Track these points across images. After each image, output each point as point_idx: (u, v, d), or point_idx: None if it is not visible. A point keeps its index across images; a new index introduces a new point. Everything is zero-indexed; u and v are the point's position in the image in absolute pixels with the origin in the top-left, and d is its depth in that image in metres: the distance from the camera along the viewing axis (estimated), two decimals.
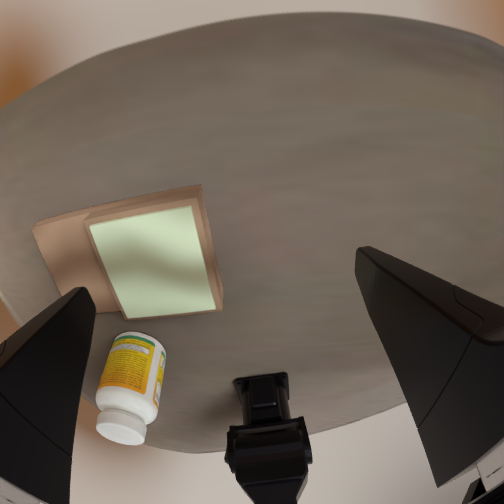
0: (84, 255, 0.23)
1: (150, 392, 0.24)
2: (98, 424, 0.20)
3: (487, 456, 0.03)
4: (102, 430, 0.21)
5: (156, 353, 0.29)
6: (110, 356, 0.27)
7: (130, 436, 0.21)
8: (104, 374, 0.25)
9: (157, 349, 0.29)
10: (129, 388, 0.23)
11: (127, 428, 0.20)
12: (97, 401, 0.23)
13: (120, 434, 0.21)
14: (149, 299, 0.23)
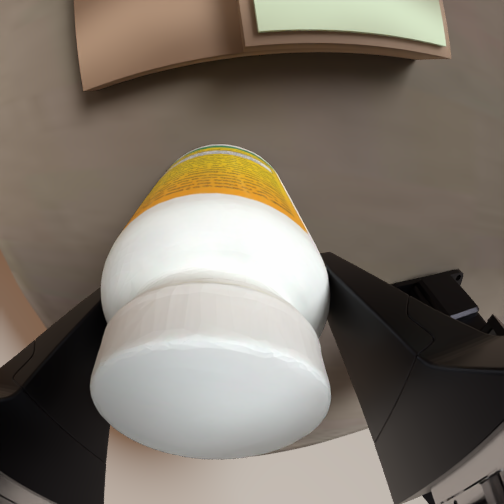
0: None
1: None
2: (104, 364, 0.04)
3: (440, 482, 0.03)
4: (120, 401, 0.05)
5: (282, 183, 0.12)
6: (163, 177, 0.10)
7: (265, 418, 0.05)
8: (145, 200, 0.08)
9: None
10: (260, 201, 0.07)
11: (290, 360, 0.04)
12: (107, 281, 0.06)
13: (214, 416, 0.05)
14: None
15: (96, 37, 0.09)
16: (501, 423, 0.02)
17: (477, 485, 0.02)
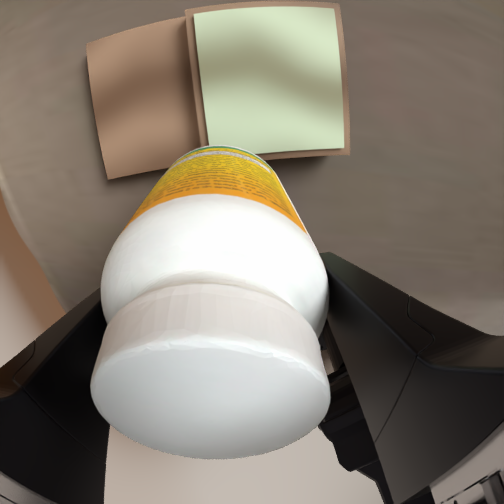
0: (159, 73, 0.15)
1: (312, 242, 0.08)
2: (104, 364, 0.04)
3: (440, 482, 0.03)
4: (120, 400, 0.05)
5: None
6: (162, 177, 0.10)
7: (265, 418, 0.05)
8: (145, 201, 0.08)
9: None
10: (260, 202, 0.07)
11: (291, 360, 0.04)
12: (107, 282, 0.06)
13: (215, 416, 0.05)
14: (255, 124, 0.16)
15: (113, 144, 0.17)
16: (501, 423, 0.02)
17: (477, 485, 0.02)
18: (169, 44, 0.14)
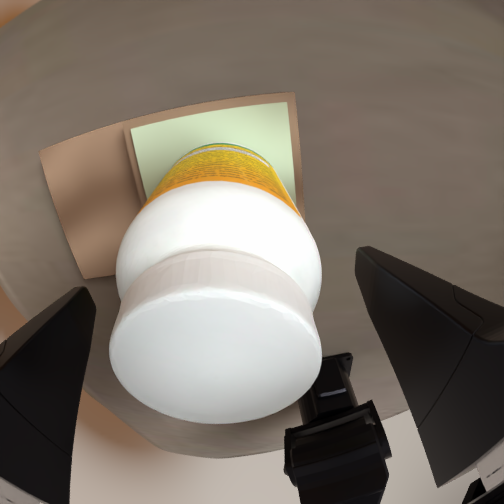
0: (111, 184, 0.17)
1: None
2: (126, 319, 0.05)
3: (487, 456, 0.03)
4: (136, 357, 0.06)
5: None
6: (170, 170, 0.11)
7: (264, 374, 0.06)
8: (156, 189, 0.09)
9: None
10: (259, 188, 0.08)
11: (285, 311, 0.05)
12: (124, 258, 0.07)
13: (220, 371, 0.06)
14: None
15: (83, 250, 0.19)
16: None
17: None
18: (116, 153, 0.16)
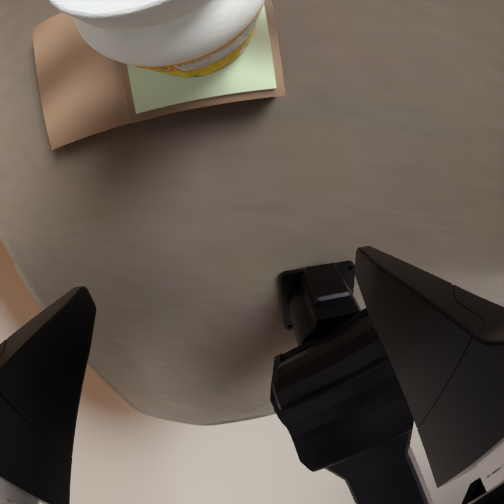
0: None
1: None
2: None
3: (487, 456, 0.03)
4: None
5: None
6: None
7: None
8: None
9: None
10: None
11: None
12: None
13: None
14: None
15: (55, 115, 0.15)
16: None
17: None
18: None
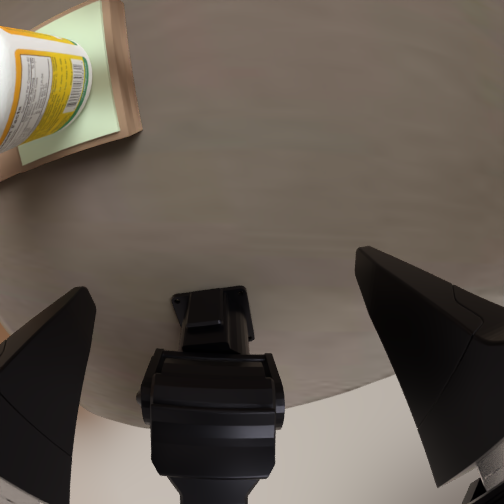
0: None
1: (21, 42, 0.06)
2: None
3: (487, 456, 0.03)
4: None
5: (73, 48, 0.11)
6: None
7: None
8: None
9: (78, 49, 0.11)
10: None
11: None
12: None
13: None
14: None
15: None
16: None
17: None
18: None
